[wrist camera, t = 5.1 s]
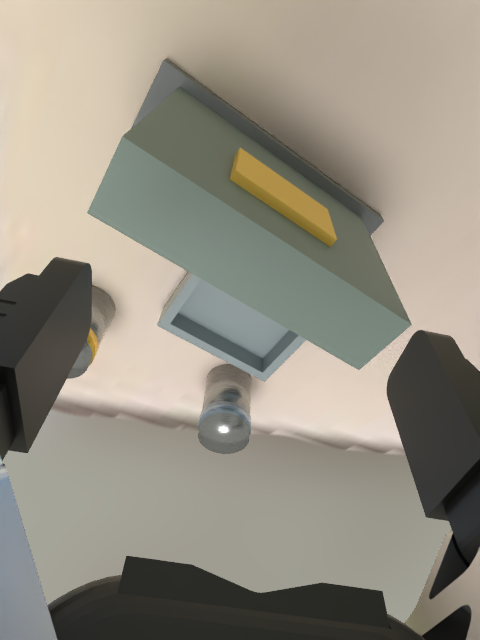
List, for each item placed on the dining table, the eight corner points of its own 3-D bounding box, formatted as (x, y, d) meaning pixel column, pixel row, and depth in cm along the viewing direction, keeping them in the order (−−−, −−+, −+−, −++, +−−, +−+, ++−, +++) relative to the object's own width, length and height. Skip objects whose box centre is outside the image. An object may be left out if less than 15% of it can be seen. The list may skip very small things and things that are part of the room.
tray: (341, 282, 35) (346, 299, 33) (264, 363, 41) (264, 381, 39) (230, 209, 32) (227, 223, 30) (163, 308, 37) (157, 325, 35)
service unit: (380, 215, 31) (445, 329, 20) (336, 264, 34) (370, 390, 23) (166, 58, 26) (91, 93, 15) (132, 130, 29) (47, 206, 18)
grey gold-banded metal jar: (124, 300, 37) (99, 351, 32) (104, 333, 40) (77, 387, 34) (74, 274, 36) (39, 322, 30) (57, 310, 38) (20, 362, 33)
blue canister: (261, 377, 42) (260, 434, 36) (235, 403, 44) (231, 460, 38) (221, 356, 40) (214, 412, 35) (197, 384, 43) (187, 441, 37)
